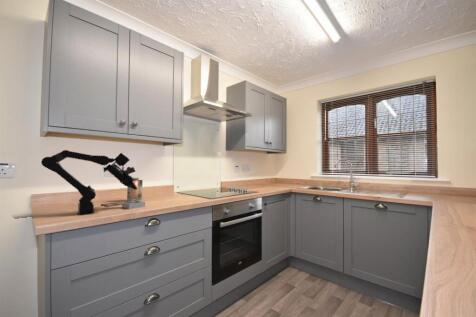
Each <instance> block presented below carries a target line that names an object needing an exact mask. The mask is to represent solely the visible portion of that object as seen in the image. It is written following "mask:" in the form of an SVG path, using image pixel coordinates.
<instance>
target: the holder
mask: <svg viewBox="0 0 476 317" xmlns="http://www.w3.org/2000/svg"><path fill="white" fill-rule="evenodd" d="M121 202H122V201H121ZM145 207H146V201H143V200H140V201H125V202H122V205H121V208H123V209H127V210H132V209H139V208H145Z"/></svg>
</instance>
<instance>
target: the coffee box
mask: <svg viewBox="0 0 476 317" xmlns="http://www.w3.org/2000/svg"><path fill="white" fill-rule="evenodd" d="M126 187H127V186H126ZM130 201H143V179H139V180H138V199H129V187H127V190H126V202H130Z"/></svg>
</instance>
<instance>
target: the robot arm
mask: <svg viewBox="0 0 476 317" xmlns="http://www.w3.org/2000/svg"><path fill="white" fill-rule="evenodd" d="M67 158H69V159H75V160H82V161H85V162H92V163H95V164H96V165H101V166H103V168H102V169H103V173H105V172H108V173H110V174H111V175H112V177H114V178H116V179H117V180H118V181H119V183H120V184H122V185H123V186H125V187H130V188H133V189H137V187H136V186H135V184H134V183H133V178H134V177H132V175H130V174H132V173H135V172H136V169H135V168H134V166H132V167H130V166H128V167H126V169H125V170H124V169H122V168H120V167H124V166H125V165H126V164H127V163H129V162H130V159H129V157H128V156H126V155H125V154H123V152H121V153H119V154H118V155H117V156H116V157H115V158H114V157H112V158H110V157H108V156H106V155H98V154H97V155H93V154H88V153H87V154H85V153H83V152H76V151H70V150H68V149H64V150H62V151H60V152H58V153H56V154H54V155H51V156H45V157H43V158H42V159H41V166H43V167H44V168H46V169H48V170H50V171H52V172H54V173H56V174H57V175H58V176H60V177H61V178H62V179H63V180H65V181H66V182H67V183H69V184H70V185H71V186H72V187H73V188H75V189H76V191H78V192H79V194H80V195H81V197H80V199H79V200H78V206H77V207H78V210H77V212H76V213H77V215H80V216H81V215H83V216H84V215H89V214H94V212H95V210H94V207H95V206H94V202H93V200H94V199H95V197H96V195H97V193H96V190H95V189H94V188H93V187H92V186H91V185H85V184H83V183H82V182H81V181H80V180H78V179H77V178H76V177H75V176H73V175H72V174H71V173H69V171H68V170H66V169H65V168H64V167H63V166H62V165H61V163H60V162H62V161H63V160H65V159H67ZM110 163H112V164H110ZM104 166H106V167H104Z"/></svg>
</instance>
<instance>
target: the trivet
mask: <svg viewBox="0 0 476 317" xmlns="http://www.w3.org/2000/svg"><path fill="white" fill-rule="evenodd" d="M118 206H119V207H120V206H122V201H116V202H108V203H101V204H100V207H107V208H110V207H118Z"/></svg>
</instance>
